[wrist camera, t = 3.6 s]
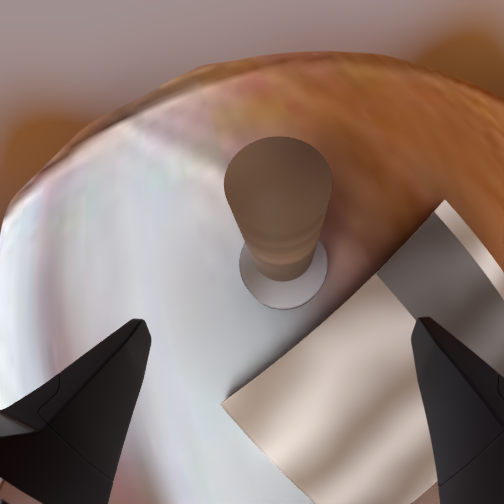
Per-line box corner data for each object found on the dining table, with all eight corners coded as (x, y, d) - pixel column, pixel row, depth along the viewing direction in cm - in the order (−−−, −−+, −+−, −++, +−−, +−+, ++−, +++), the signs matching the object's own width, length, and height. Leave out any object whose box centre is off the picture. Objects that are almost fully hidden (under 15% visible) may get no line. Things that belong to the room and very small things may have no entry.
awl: (340, 273, 21) (400, 189, 9) (278, 326, 20) (267, 309, 8) (287, 216, 22) (284, 91, 10) (227, 265, 22) (159, 177, 10)
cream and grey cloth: (536, 341, 17) (545, 340, 16) (356, 532, 15) (359, 540, 13) (438, 205, 21) (444, 199, 20) (223, 400, 19) (219, 404, 18)
